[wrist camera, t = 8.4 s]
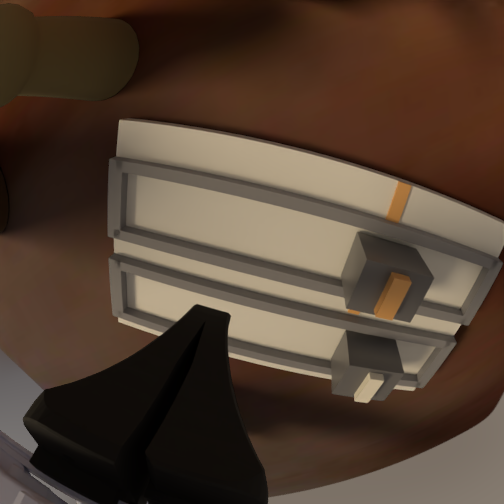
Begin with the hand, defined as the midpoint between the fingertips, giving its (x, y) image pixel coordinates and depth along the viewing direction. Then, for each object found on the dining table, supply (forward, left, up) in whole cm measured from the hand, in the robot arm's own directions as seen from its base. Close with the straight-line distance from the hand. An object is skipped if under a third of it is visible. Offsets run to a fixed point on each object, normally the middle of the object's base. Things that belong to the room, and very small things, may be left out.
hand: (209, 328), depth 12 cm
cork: (+10, +12, -10) cm, 18 cm away
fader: (-6, -10, -8) cm, 14 cm away
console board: (-2, -4, -9) cm, 10 cm away
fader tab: (+1, -8, -8) cm, 11 cm away
